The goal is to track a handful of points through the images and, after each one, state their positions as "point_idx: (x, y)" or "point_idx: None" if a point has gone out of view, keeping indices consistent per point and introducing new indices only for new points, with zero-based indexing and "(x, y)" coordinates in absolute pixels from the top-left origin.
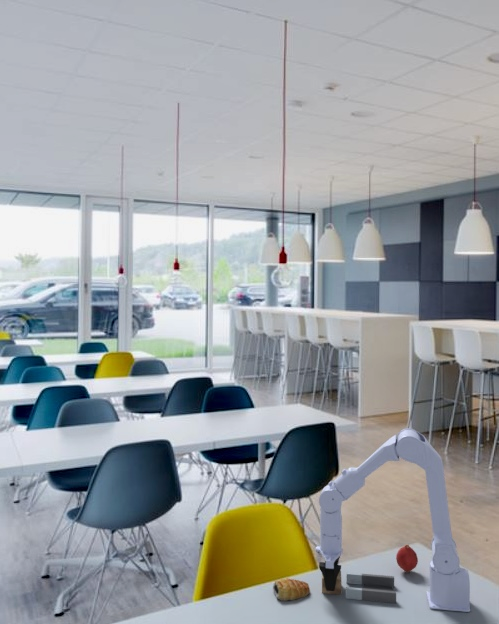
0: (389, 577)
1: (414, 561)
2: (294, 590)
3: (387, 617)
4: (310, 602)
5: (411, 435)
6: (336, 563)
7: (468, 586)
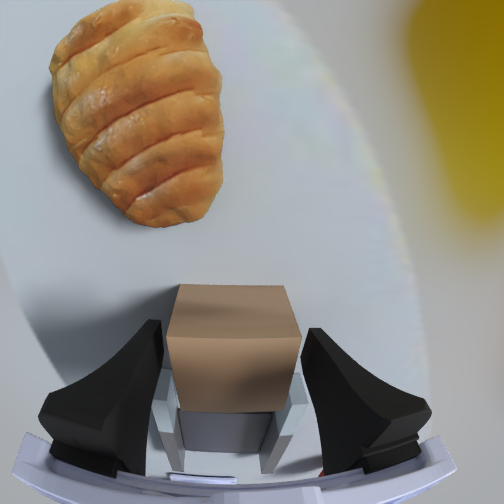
0: (264, 469)
1: None
2: (66, 141)
3: None
4: (79, 227)
5: None
6: (319, 414)
7: None
